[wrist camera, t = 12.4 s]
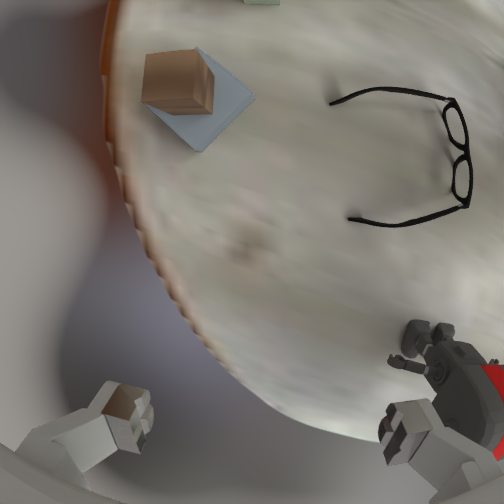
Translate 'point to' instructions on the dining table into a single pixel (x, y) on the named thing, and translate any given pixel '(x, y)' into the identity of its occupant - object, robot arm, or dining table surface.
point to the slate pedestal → (224, 109)
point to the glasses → (465, 147)
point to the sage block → (263, 2)
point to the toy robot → (458, 383)
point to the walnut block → (178, 83)
